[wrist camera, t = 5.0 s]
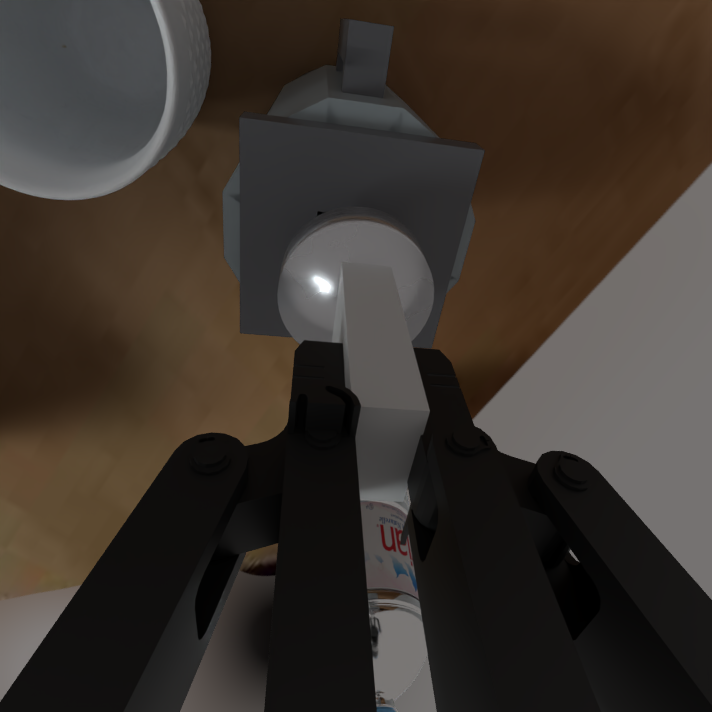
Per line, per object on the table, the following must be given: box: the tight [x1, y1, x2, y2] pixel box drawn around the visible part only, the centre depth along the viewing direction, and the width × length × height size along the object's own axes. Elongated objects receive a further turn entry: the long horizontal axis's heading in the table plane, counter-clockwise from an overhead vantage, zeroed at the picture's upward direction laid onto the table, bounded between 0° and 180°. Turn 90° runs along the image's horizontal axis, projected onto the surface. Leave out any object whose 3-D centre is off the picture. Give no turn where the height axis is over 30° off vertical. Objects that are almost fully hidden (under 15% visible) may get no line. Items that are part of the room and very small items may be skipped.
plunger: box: [277, 207, 434, 344], centre depth 22 cm, size 6×6×16 cm
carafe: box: [223, 19, 485, 348], centre depth 25 cm, size 10×12×16 cm
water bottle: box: [360, 492, 428, 712], centre depth 35 cm, size 7×7×25 cm
